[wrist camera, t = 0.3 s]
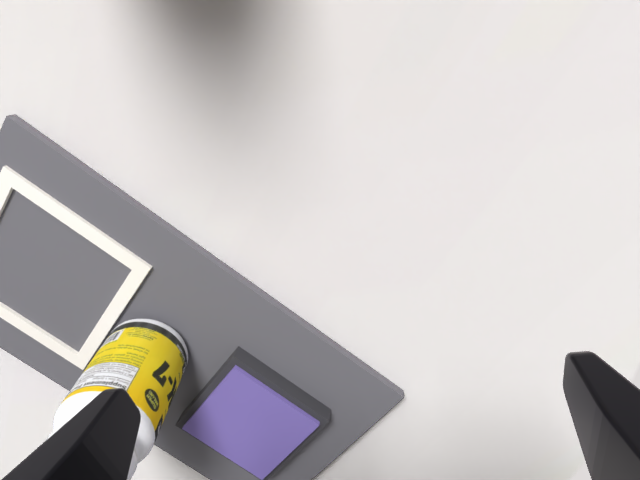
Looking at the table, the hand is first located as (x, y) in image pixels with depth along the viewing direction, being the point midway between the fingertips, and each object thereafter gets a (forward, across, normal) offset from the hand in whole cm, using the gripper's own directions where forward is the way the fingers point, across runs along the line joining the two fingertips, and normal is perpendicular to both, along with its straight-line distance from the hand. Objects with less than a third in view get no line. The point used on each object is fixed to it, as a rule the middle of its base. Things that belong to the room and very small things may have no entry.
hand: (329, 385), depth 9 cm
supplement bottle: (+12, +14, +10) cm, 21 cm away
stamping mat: (+13, +13, +10) cm, 21 cm away
